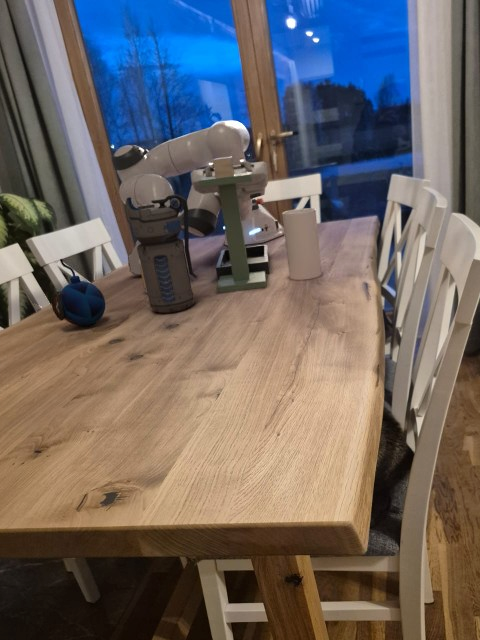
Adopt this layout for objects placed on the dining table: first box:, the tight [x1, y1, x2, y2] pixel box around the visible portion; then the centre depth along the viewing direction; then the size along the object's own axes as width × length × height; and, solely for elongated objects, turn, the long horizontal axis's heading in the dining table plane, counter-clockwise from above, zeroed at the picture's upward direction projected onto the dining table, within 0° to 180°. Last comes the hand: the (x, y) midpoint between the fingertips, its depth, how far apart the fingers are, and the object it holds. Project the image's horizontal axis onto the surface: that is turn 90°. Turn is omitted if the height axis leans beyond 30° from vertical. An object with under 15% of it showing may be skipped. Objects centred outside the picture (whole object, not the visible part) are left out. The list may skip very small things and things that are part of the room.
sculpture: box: [127, 239, 141, 276], centre depth 176 cm, size 11×18×12 cm
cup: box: [281, 207, 323, 281], centre depth 145 cm, size 8×8×16 cm
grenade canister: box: [124, 194, 198, 314], centre depth 129 cm, size 10×13×25 cm
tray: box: [215, 244, 271, 281], centre depth 166 cm, size 26×14×3 cm, turn 3°
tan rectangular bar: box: [213, 156, 235, 179], centre depth 141 cm, size 22×4×4 cm, turn 3°
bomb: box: [50, 258, 106, 327], centre depth 126 cm, size 10×11×15 cm
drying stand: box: [199, 172, 267, 294], centre depth 142 cm, size 12×12×26 cm
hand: (226, 162), depth 146 cm, fingers open, 7 cm apart
